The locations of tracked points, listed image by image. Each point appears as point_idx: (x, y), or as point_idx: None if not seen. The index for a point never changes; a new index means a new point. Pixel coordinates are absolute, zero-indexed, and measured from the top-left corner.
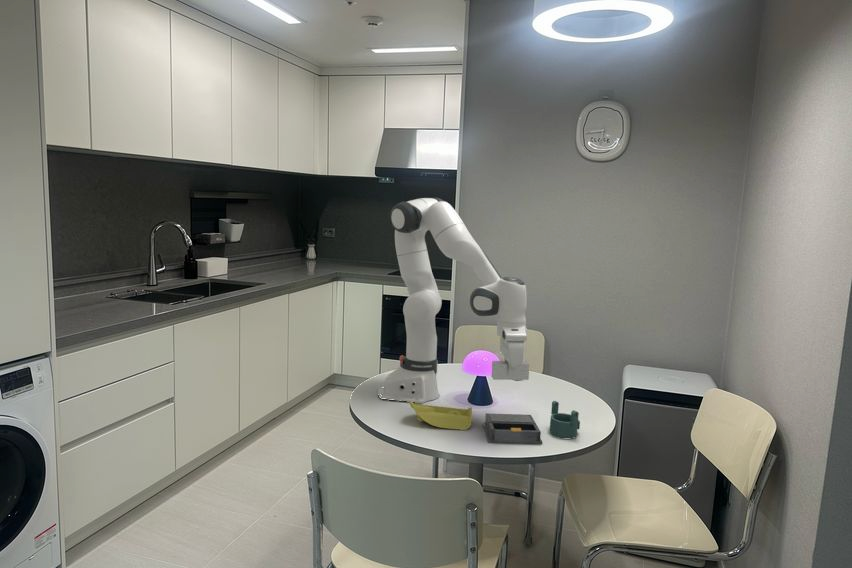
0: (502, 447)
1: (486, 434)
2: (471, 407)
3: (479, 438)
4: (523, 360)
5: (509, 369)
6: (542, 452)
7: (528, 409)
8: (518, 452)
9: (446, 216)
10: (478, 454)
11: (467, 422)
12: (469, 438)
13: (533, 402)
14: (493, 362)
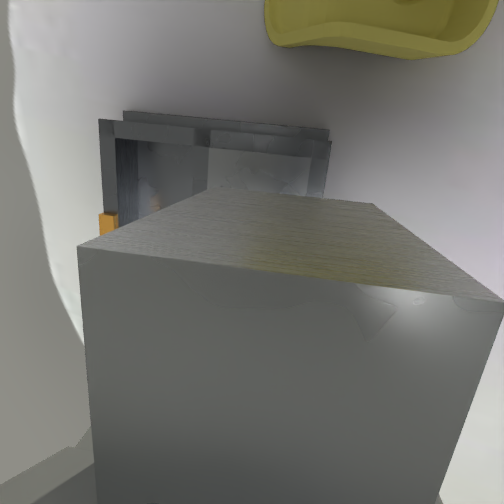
0: (93, 160)
1: (196, 117)
2: (350, 35)
3: (171, 78)
4: None
5: (45, 465)
6: (74, 288)
7: (485, 386)
8: (61, 209)
9: None
10: (16, 39)
11: (292, 24)
12: (168, 25)
13: None
14: (256, 282)
